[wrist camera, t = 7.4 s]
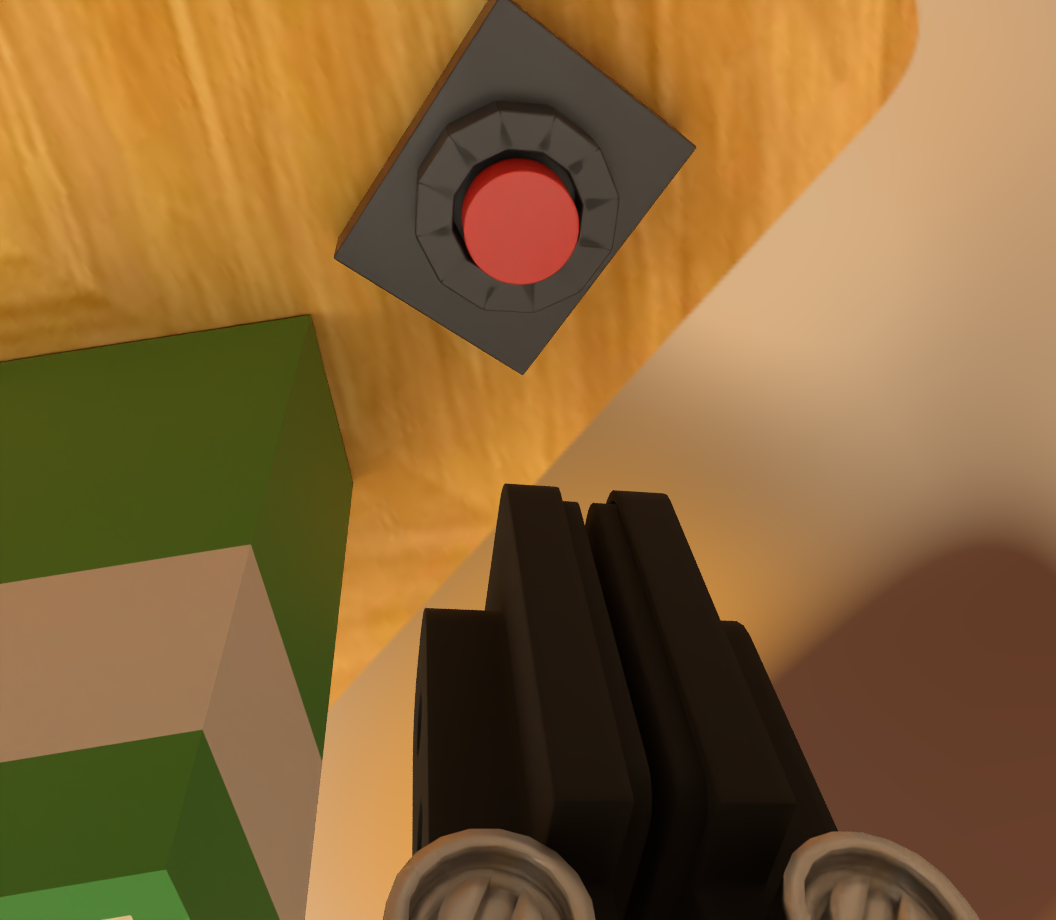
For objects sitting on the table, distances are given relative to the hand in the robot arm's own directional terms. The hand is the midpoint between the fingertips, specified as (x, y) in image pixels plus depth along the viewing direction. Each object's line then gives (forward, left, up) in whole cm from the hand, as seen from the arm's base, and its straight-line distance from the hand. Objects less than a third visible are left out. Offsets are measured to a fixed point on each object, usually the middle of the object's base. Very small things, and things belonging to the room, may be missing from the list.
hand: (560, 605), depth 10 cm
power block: (-1, +3, -27) cm, 27 cm away
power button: (-1, +3, -23) cm, 23 cm away
